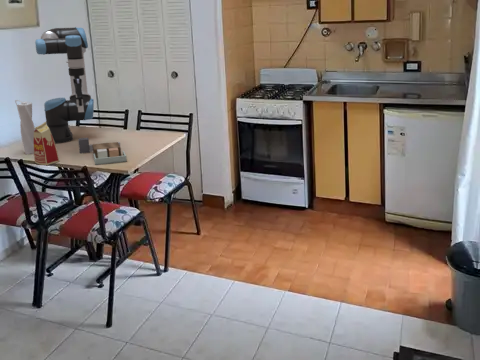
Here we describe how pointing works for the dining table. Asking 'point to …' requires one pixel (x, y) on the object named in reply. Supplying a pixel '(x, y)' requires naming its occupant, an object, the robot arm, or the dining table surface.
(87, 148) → the scraper
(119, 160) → the tray
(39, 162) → the milk carton
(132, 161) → the dining table surface
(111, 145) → the board
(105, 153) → the tile white
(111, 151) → the tile terracotta
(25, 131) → the skyscraper
